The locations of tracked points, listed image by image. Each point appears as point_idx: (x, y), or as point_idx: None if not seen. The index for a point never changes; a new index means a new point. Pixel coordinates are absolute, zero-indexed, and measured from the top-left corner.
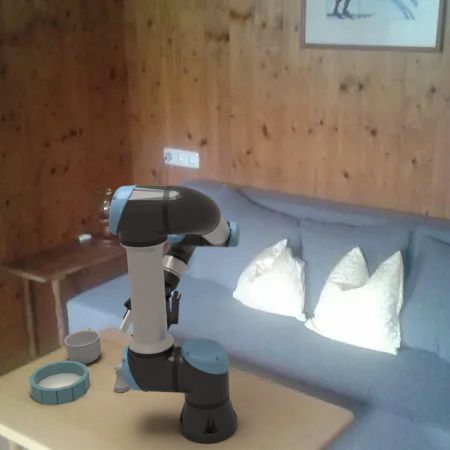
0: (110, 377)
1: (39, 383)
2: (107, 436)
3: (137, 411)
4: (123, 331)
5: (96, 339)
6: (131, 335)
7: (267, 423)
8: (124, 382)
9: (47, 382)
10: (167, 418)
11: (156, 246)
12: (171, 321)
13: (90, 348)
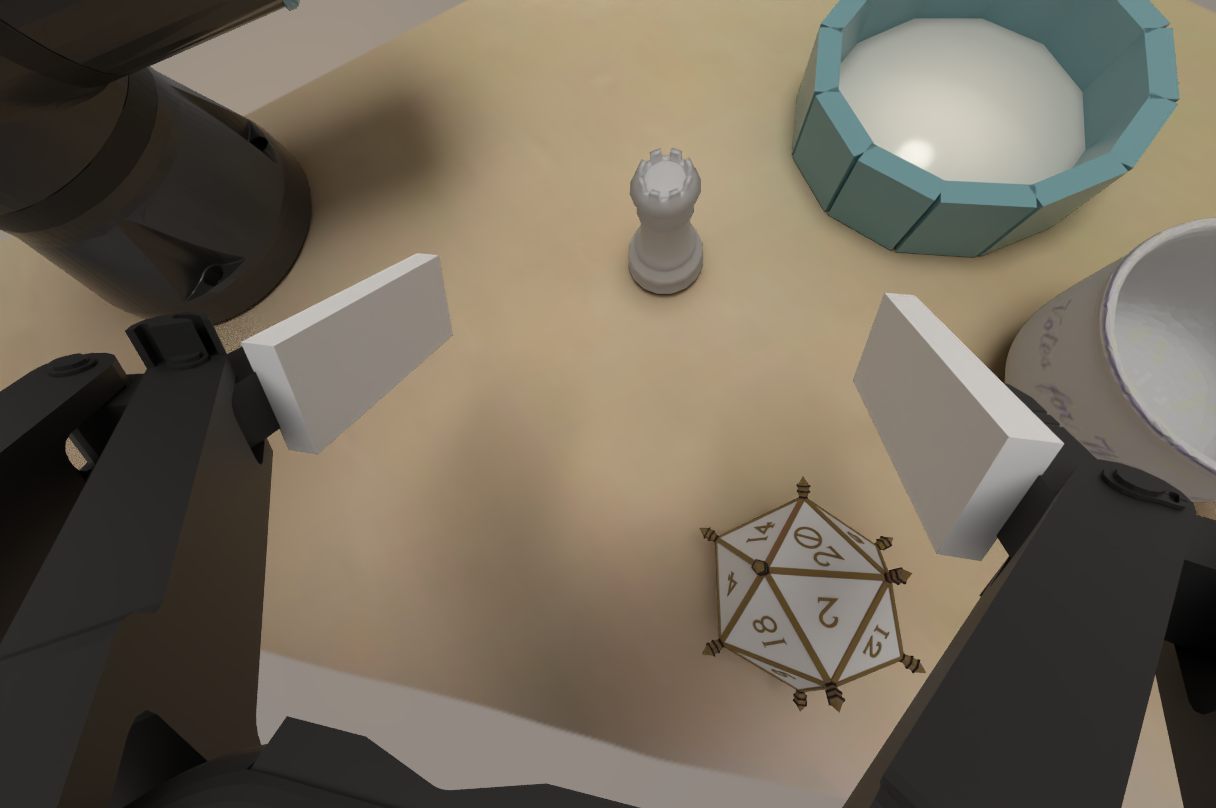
0: (790, 315)
1: (1064, 78)
2: (514, 19)
3: (499, 171)
4: (868, 342)
5: (1122, 368)
6: (903, 571)
7: (25, 339)
8: (638, 234)
9: (1034, 103)
10: (369, 193)
11: None
12: (133, 379)
13: (1073, 315)
